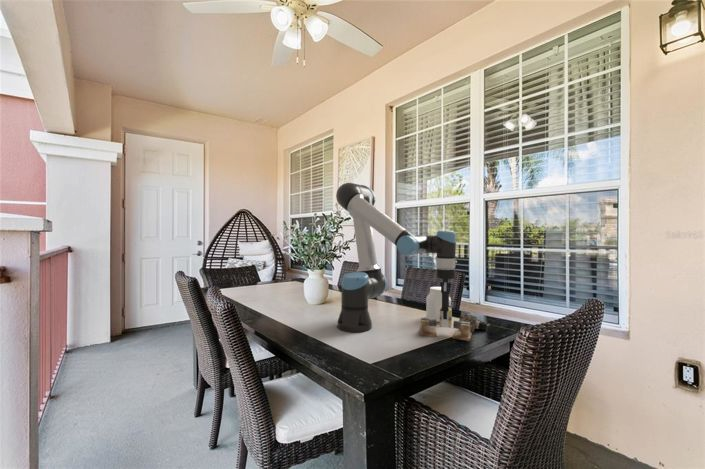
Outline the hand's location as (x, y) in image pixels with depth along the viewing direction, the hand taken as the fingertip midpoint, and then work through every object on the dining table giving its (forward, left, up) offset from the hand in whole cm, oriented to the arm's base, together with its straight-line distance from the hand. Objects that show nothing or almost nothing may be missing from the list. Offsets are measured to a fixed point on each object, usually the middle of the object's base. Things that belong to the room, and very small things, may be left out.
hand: (445, 324), depth 135 cm
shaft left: (-7, 0, -4) cm, 8 cm away
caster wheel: (+11, +12, -4) cm, 17 cm away
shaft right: (+6, 0, -4) cm, 8 cm away
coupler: (0, 0, 0) cm, 0 cm away
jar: (-4, +23, -4) cm, 23 cm away
